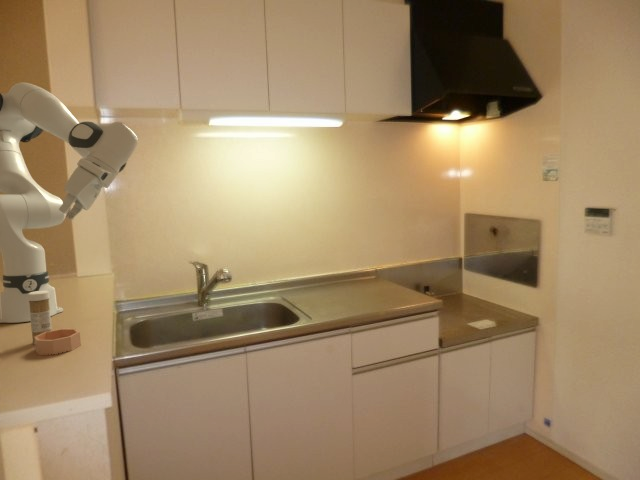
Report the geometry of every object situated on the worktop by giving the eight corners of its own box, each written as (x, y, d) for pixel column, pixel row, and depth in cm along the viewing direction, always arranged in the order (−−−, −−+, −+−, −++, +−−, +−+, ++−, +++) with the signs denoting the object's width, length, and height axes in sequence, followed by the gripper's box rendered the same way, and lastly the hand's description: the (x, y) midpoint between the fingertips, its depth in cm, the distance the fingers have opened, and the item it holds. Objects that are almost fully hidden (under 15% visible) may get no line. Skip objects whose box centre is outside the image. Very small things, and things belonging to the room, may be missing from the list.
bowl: (33, 348, 108) (32, 334, 107) (74, 339, 114) (73, 326, 113) (40, 357, 101) (39, 343, 100) (83, 347, 107) (82, 334, 107)
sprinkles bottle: (49, 338, 115) (45, 289, 114) (55, 342, 112) (51, 291, 111) (29, 342, 112) (25, 292, 110) (34, 346, 109) (30, 294, 107)
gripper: (90, 177, 127) (61, 216, 123) (79, 156, 108) (45, 201, 104) (110, 189, 129) (82, 227, 125) (103, 170, 110) (70, 214, 106)
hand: (65, 215), depth 114 cm, fingers open, 8 cm apart
